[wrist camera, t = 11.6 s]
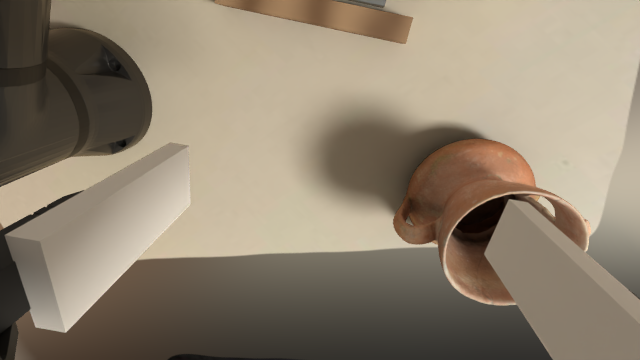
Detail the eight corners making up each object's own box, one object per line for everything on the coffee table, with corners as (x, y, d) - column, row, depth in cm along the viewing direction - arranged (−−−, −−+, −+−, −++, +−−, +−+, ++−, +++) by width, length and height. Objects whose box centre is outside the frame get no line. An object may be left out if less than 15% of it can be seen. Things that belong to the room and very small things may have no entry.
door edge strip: (223, 5, 34) (214, 2, 31) (224, -20, 33) (215, -25, 30) (401, 43, 34) (405, 43, 31) (408, 19, 33) (413, 17, 30)
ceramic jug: (541, 129, 36) (650, 176, 23) (517, 233, 42) (593, 317, 29) (386, 135, 38) (407, 182, 25) (383, 234, 44) (399, 313, 31)
